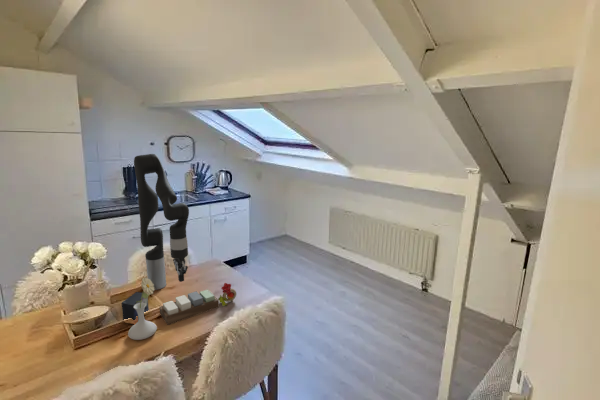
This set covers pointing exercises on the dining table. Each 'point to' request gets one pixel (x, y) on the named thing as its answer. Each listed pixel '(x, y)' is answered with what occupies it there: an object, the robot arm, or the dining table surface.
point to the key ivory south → (170, 308)
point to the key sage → (207, 296)
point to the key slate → (195, 298)
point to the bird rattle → (229, 292)
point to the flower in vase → (142, 326)
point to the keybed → (188, 311)
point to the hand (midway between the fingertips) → (181, 280)
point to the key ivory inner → (183, 302)
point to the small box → (129, 304)
